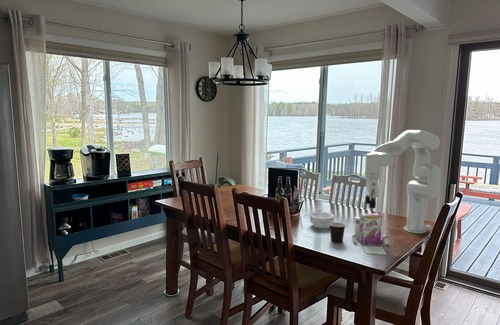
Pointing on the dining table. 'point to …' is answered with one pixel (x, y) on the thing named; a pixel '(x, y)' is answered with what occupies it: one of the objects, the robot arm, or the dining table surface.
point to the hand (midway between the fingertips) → (370, 205)
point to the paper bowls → (321, 219)
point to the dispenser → (356, 232)
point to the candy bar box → (370, 228)
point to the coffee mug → (337, 232)
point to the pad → (374, 250)
